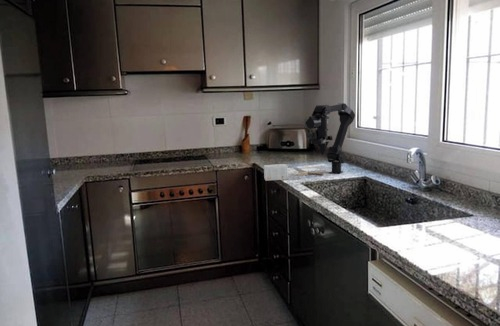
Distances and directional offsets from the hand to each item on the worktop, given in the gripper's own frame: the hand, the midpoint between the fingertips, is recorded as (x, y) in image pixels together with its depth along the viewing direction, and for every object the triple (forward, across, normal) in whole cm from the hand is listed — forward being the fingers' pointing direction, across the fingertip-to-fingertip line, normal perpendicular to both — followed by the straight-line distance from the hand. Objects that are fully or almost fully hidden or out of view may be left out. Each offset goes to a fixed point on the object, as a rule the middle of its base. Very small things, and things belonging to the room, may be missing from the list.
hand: (322, 154), depth 214 cm
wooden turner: (+13, -3, -10) cm, 17 cm away
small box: (+9, +11, -17) cm, 22 cm away
